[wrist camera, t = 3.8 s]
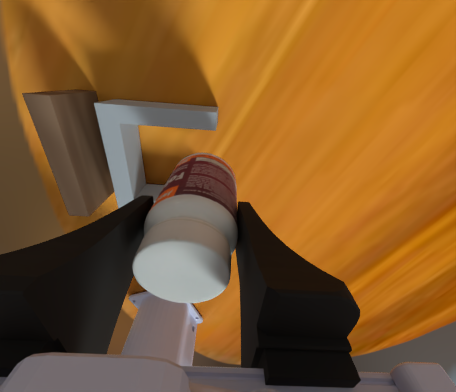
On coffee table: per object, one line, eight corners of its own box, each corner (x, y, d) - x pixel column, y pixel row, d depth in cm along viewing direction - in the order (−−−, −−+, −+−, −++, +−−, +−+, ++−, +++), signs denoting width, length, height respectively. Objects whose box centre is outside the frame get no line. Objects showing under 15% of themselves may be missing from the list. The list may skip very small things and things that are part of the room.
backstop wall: (95, 91, 17) (49, 95, 12) (117, 188, 21) (89, 216, 17) (75, 89, 17) (21, 93, 12) (101, 187, 21) (69, 215, 17)
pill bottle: (182, 141, 14) (128, 214, 7) (245, 165, 15) (260, 253, 8) (166, 196, 16) (114, 295, 9) (222, 214, 17) (216, 318, 10)
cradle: (218, 107, 17) (216, 112, 14) (214, 198, 22) (212, 216, 19) (115, 98, 17) (93, 103, 14) (133, 193, 21) (119, 210, 19)
